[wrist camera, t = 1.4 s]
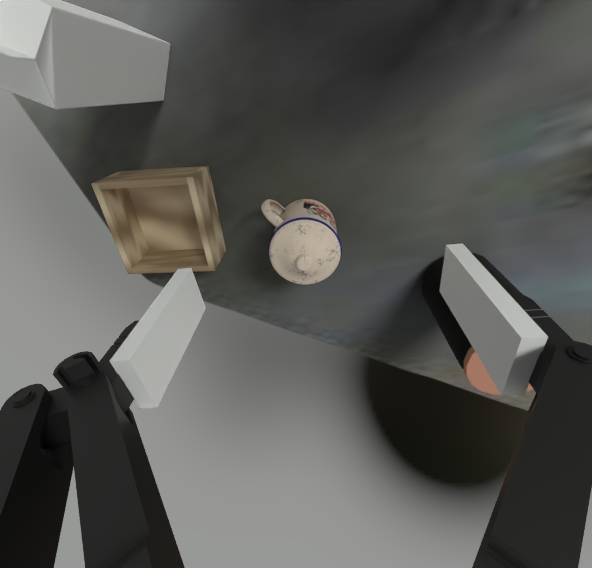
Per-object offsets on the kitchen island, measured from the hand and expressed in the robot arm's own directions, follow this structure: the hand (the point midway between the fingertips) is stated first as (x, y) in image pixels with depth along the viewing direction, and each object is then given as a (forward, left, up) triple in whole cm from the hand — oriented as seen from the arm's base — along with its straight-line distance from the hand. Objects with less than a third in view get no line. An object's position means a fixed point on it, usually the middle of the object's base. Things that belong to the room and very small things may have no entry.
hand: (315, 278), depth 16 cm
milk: (-12, -19, -29) cm, 37 cm away
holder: (+6, -20, -29) cm, 36 cm away
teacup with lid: (+8, -2, -29) cm, 30 cm away
